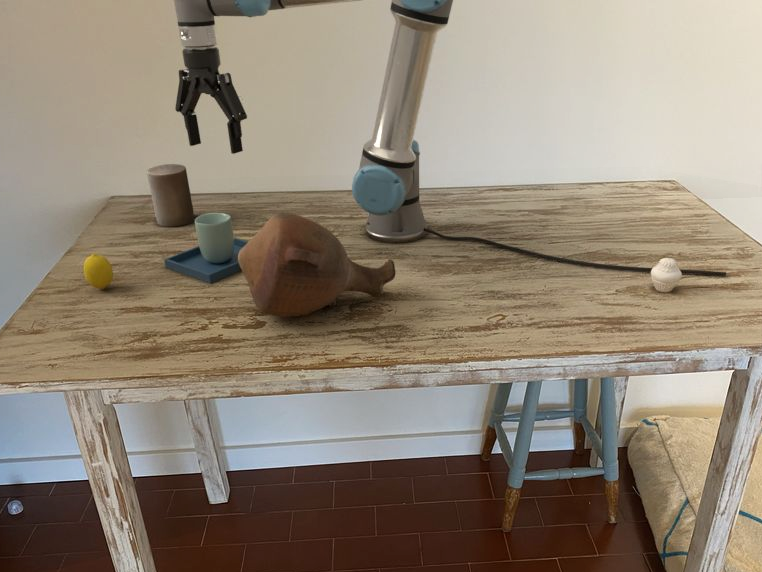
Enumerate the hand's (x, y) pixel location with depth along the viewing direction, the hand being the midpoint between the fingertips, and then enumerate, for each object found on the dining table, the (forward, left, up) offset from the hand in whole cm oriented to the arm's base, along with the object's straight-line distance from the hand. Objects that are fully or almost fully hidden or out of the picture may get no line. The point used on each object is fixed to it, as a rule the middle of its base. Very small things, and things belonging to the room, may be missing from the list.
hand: (215, 148), depth 161 cm
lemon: (+2, +33, -23) cm, 40 cm away
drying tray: (-7, +9, -23) cm, 26 cm away
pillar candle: (+24, -3, -23) cm, 33 cm away
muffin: (-95, -34, -23) cm, 103 cm away
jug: (-42, +13, -23) cm, 50 cm away
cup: (-7, +9, -23) cm, 25 cm away
